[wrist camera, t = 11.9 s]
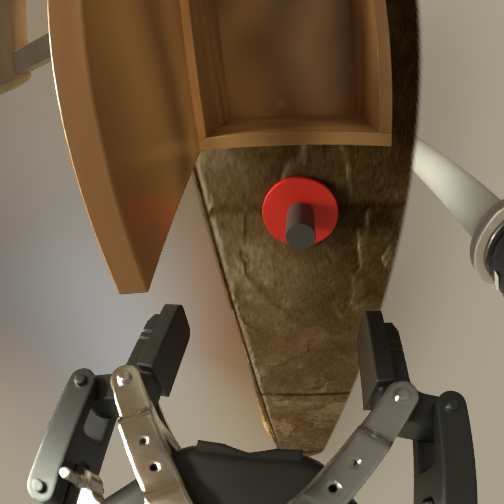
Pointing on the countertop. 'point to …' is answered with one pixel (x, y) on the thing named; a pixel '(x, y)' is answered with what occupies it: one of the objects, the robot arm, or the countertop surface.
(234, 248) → the countertop surface
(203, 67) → the chest
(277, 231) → the pan lid
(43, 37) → the chest lid
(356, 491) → the robot arm
